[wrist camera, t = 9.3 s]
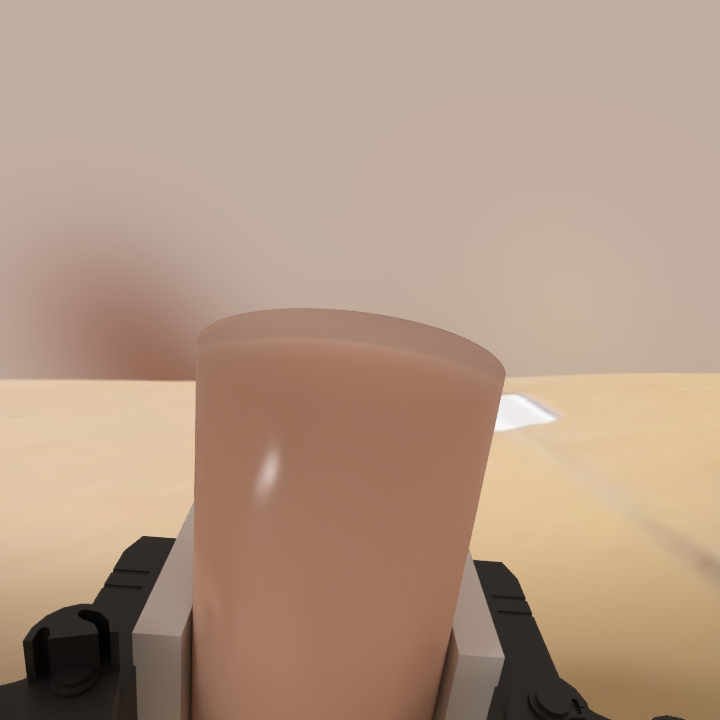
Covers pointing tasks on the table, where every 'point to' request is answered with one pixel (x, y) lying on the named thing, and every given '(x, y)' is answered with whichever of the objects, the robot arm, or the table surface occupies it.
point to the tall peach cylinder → (332, 511)
